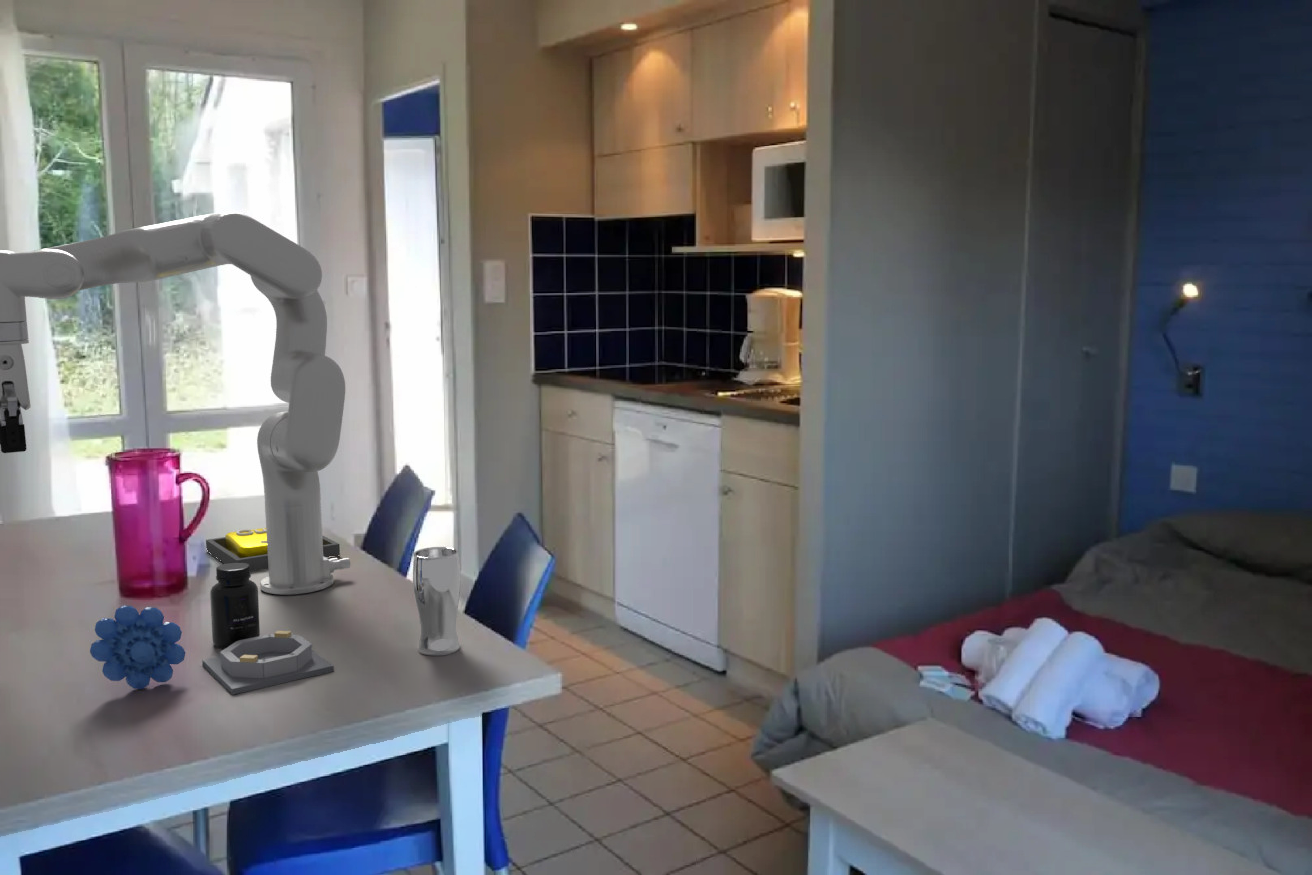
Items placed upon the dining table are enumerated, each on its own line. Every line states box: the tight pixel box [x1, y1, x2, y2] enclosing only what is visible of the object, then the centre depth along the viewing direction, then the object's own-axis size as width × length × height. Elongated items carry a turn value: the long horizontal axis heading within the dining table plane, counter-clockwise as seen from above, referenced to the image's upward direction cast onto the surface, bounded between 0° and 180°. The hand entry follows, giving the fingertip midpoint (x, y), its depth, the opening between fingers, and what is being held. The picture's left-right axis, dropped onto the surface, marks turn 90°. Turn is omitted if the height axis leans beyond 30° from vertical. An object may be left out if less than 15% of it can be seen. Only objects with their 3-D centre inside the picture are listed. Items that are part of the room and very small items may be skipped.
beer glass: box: [412, 546, 462, 657], centre depth 161 cm, size 7×7×15 cm
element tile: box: [225, 527, 268, 558], centre depth 216 cm, size 15×15×5 cm
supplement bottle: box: [209, 563, 261, 649], centre depth 164 cm, size 7×7×12 cm
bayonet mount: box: [201, 630, 335, 696], centre depth 154 cm, size 14×14×4 cm
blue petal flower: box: [89, 604, 186, 690], centre depth 145 cm, size 12×7×12 cm, turn 125°
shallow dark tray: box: [205, 534, 341, 572], centre depth 216 cm, size 20×20×2 cm
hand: (9, 447), depth 162 cm, fingers open, 9 cm apart
